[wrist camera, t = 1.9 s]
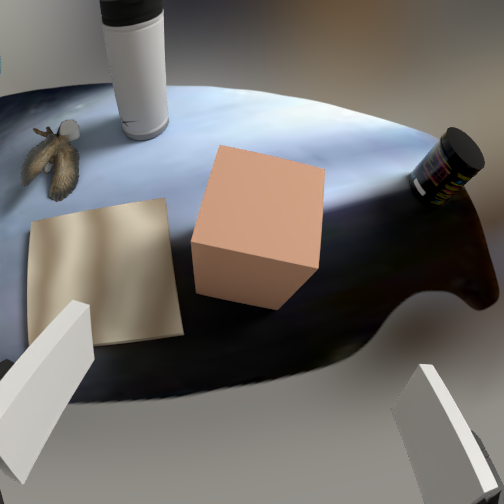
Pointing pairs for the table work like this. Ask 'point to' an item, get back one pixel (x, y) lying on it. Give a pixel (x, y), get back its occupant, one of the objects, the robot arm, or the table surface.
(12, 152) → the table surface
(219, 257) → the peach squarish block
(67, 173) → the eagle figurine
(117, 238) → the birch pad
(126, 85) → the travel mug
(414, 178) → the supplement container
